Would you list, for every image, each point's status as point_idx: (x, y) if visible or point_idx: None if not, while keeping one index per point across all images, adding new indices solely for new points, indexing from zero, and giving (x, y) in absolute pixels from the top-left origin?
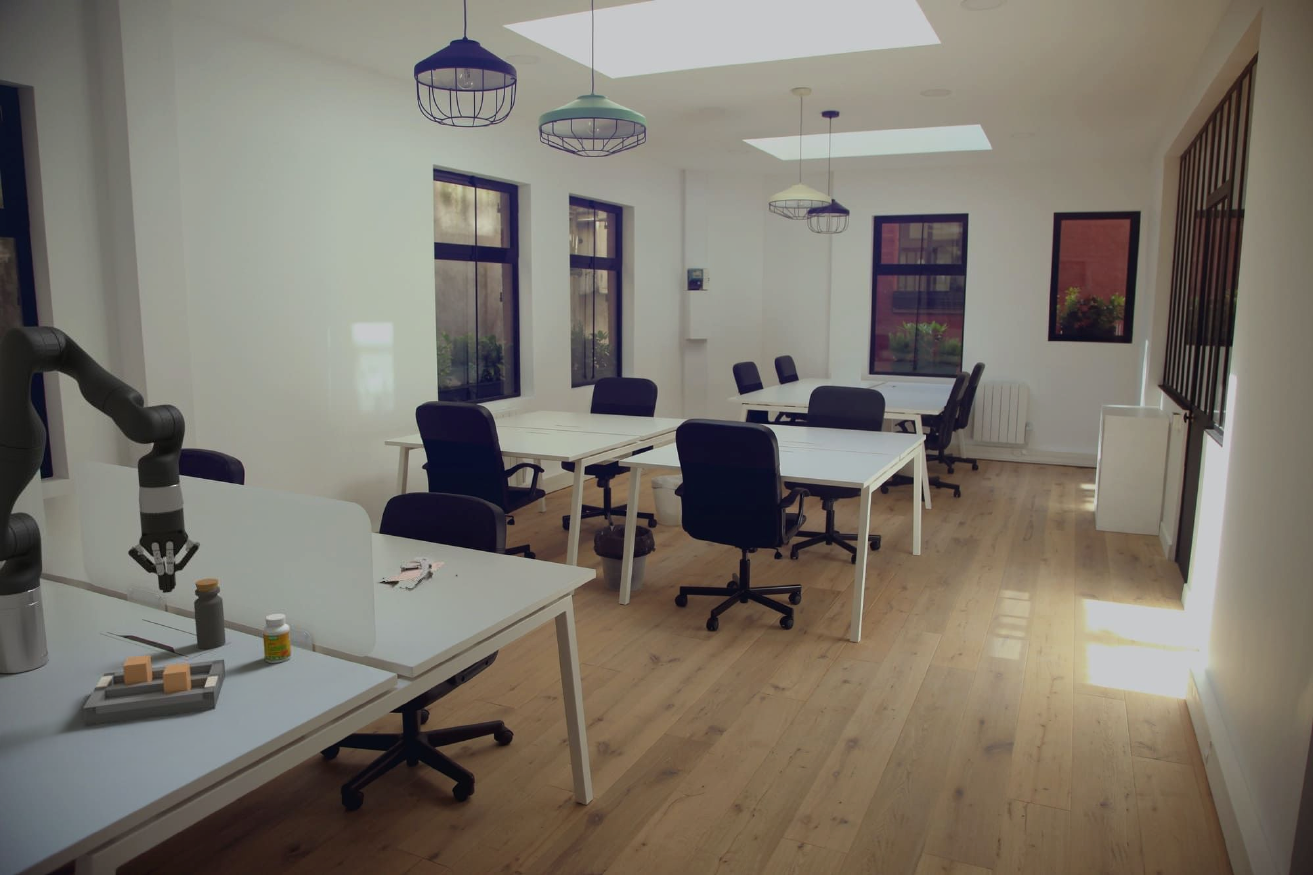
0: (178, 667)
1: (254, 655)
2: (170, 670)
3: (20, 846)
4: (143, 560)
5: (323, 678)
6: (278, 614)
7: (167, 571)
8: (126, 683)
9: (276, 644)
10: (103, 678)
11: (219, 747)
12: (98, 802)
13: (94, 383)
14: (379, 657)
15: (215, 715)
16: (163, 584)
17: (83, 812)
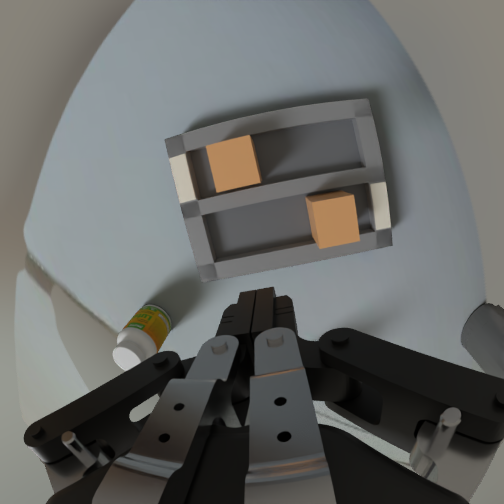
0: (230, 169)
1: (195, 338)
2: (241, 154)
3: None
4: (400, 380)
5: (73, 240)
6: (128, 369)
7: (233, 344)
8: (341, 191)
9: (135, 318)
10: (386, 218)
11: (136, 37)
12: None
13: None
14: (47, 296)
15: (166, 118)
16: (266, 302)
17: None
